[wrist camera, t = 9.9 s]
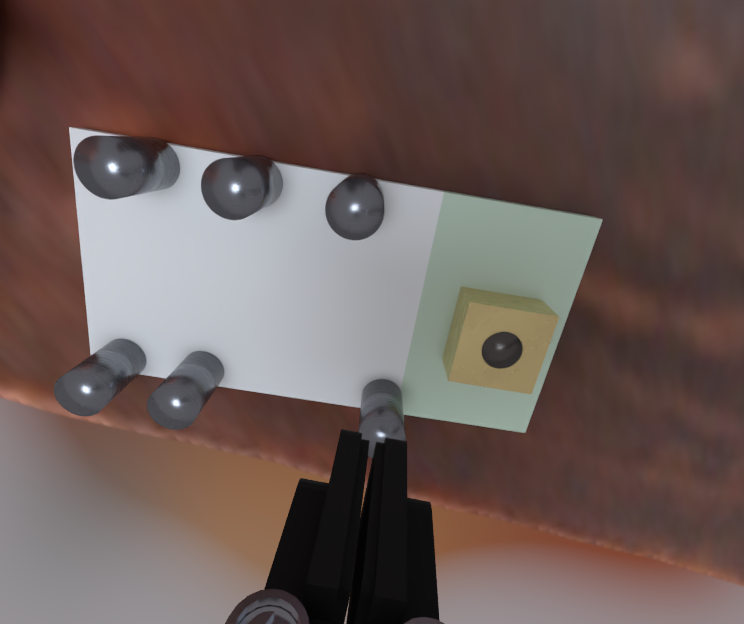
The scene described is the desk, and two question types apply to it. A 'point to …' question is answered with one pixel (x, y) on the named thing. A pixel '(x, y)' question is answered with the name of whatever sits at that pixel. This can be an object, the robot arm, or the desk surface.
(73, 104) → the desk surface
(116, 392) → the spacers
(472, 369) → the nut
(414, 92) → the desk surface
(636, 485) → the desk surface
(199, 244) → the board
